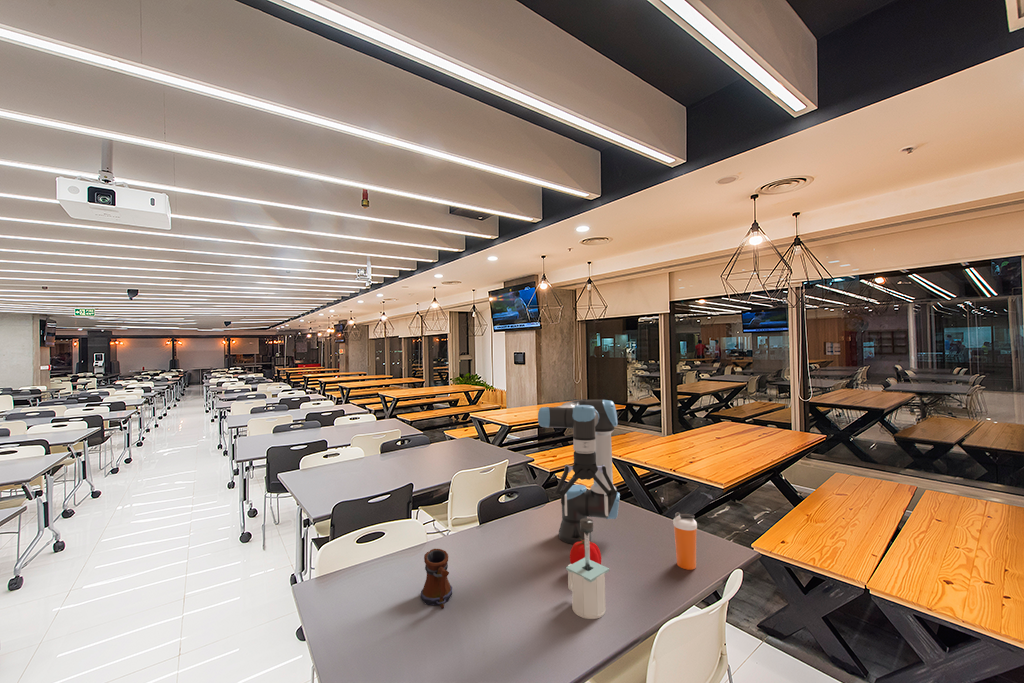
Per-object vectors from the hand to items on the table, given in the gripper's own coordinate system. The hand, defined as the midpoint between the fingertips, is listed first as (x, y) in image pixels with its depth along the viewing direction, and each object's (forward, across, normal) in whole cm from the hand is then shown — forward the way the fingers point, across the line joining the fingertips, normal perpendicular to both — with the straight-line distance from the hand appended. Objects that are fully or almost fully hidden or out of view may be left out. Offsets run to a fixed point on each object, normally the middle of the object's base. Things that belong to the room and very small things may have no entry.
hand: (586, 514), depth 136 cm
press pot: (+31, -1, +1) cm, 31 cm away
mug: (+31, -52, +2) cm, 60 cm away
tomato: (+31, +2, +22) cm, 38 cm away
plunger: (+21, 0, 0) cm, 21 cm away
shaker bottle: (+31, +43, +30) cm, 61 cm away
